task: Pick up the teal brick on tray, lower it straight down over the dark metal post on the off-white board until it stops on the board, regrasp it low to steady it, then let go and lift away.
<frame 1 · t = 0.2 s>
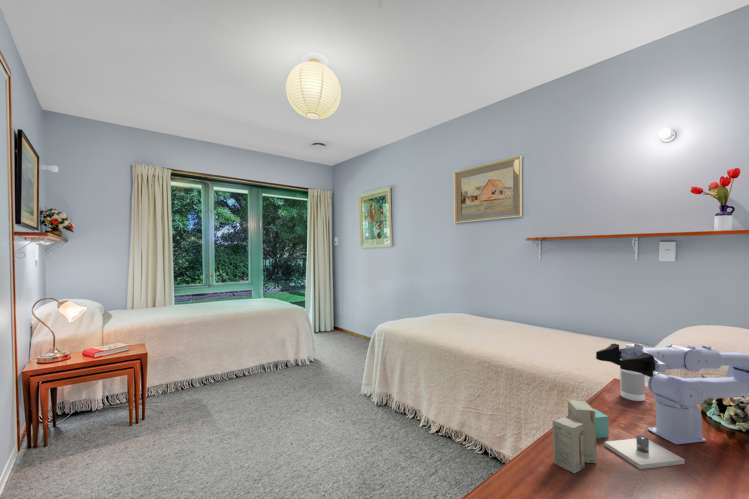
hand: (608, 359, 92), 21 cm above the table, tool horizontal, fingers open, 7 cm apart
skincare box: (568, 466, 81), on the table
spray bottle: (632, 398, 120), on the table
teal brick on tray: (593, 433, 96), on the table
post board: (642, 454, 86), on the table
skincare box 2: (582, 456, 85), on the table
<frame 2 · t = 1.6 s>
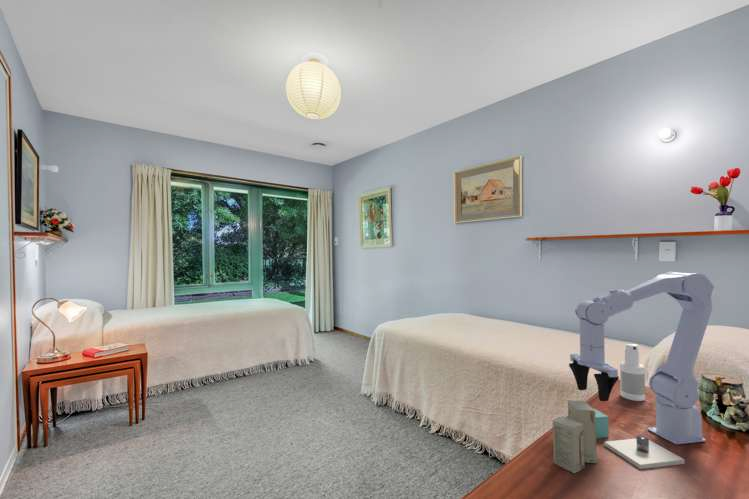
hand: (592, 394, 96), 10 cm above the table, tool pointing down, fingers open, 7 cm apart
nothing on the table moved.
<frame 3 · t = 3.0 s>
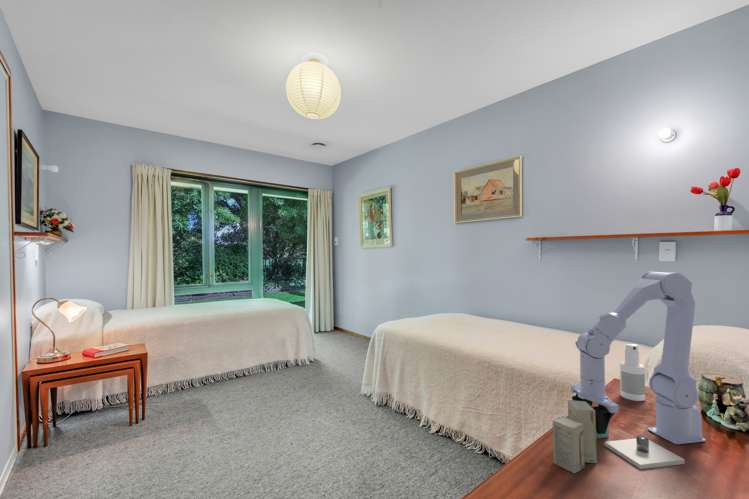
hand: (593, 428, 96), 1 cm above the table, tool pointing down, fingers closed on teal brick on tray, 5 cm apart
teal brick on tray: (593, 433, 96), on the table, touching gripper
everything else where it was.
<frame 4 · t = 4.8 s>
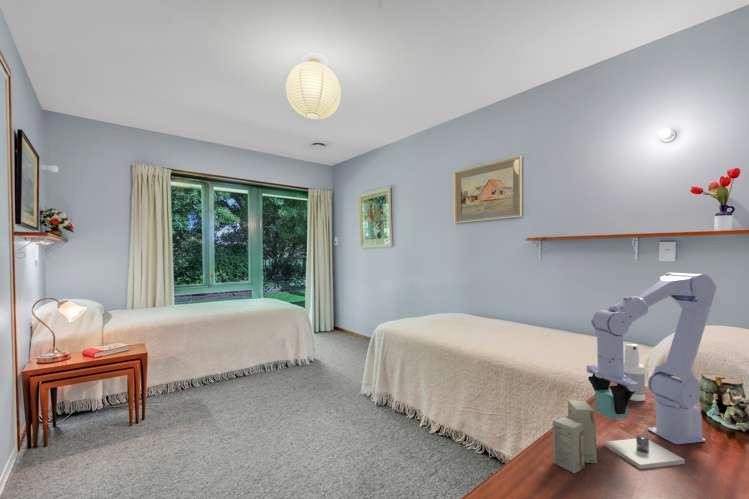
hand: (611, 408, 92), 8 cm above the table, tool pointing down, fingers closed on teal brick on tray, 5 cm apart
teal brick on tray: (611, 414, 92), point 7 cm above the table, touching gripper
everything else where it was.
when the fingers open (4 cm above the table, at t = 6.9 s): teal brick on tray drops 1 cm, resting on post board.
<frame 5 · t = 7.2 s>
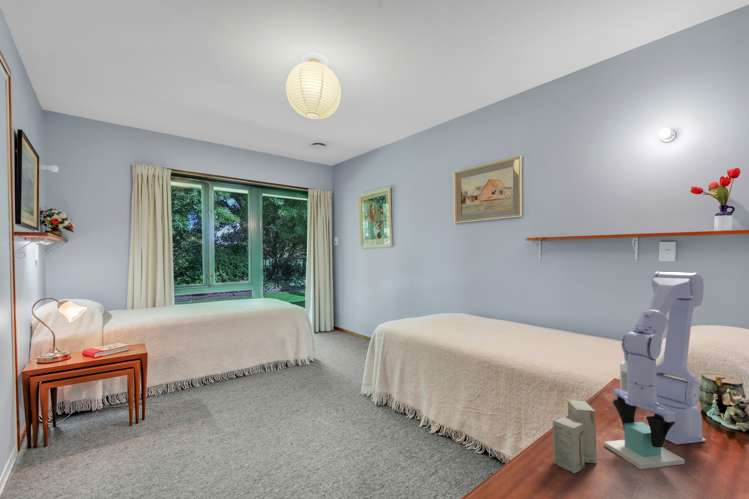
hand: (642, 438, 86), 4 cm above the table, tool pointing down, fingers open, 7 cm apart
teal brick on tray: (642, 450, 86), point 1 cm above the table, touching post board
everything else where it was.
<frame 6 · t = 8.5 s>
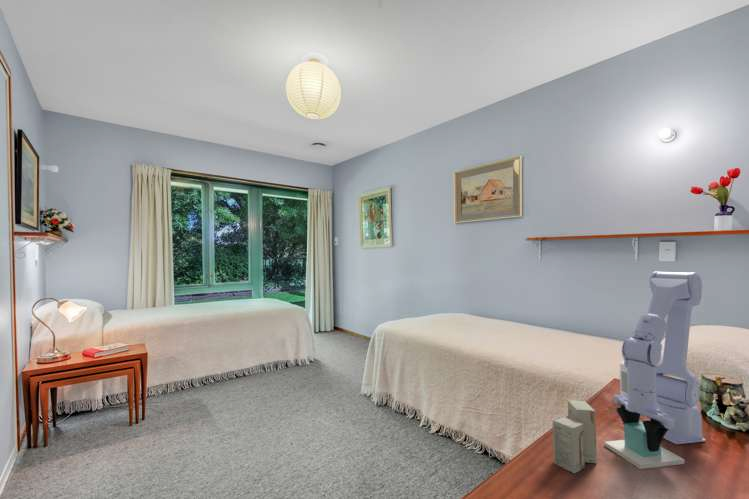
hand: (642, 444, 86), 2 cm above the table, tool pointing down, fingers closed on teal brick on tray, 5 cm apart
teal brick on tray: (642, 450, 86), point 1 cm above the table, touching gripper, post board
everything else where it was.
when the fingers open (3 cm above the table, at t = 9.9 s): teal brick on tray stays where it is, resting on post board.
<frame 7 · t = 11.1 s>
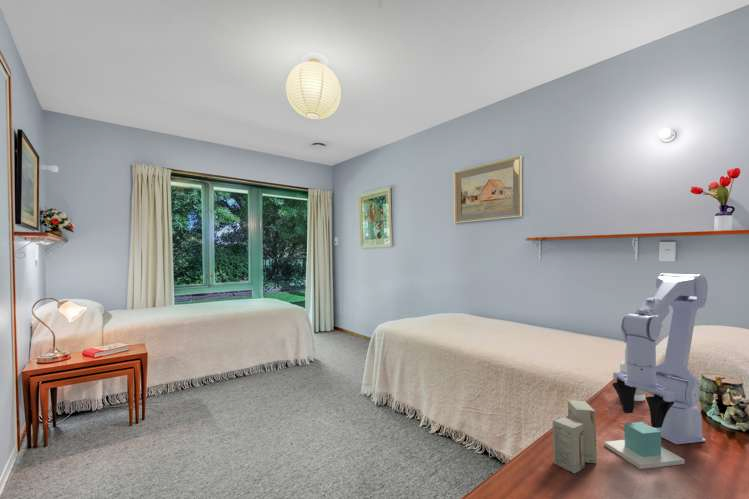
hand: (642, 419, 86), 8 cm above the table, tool pointing down, fingers open, 7 cm apart
teal brick on tray: (642, 450, 86), point 1 cm above the table, touching post board
everything else where it was.
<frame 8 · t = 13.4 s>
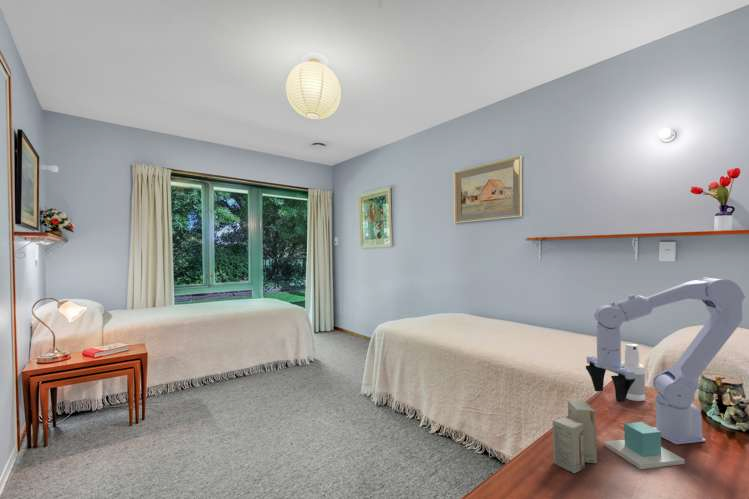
hand: (609, 396, 100), 8 cm above the table, tool pointing down, fingers open, 7 cm apart
nothing on the table moved.
at the end: teal brick on tray 0.1 cm off-centre on the post board, point 1.0 cm above the post board's base; teal brick on tray tilted 0°; the gripper is holding nothing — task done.
